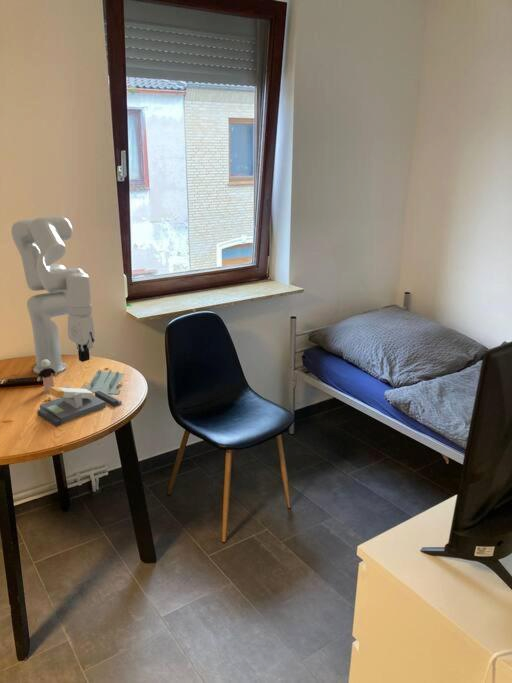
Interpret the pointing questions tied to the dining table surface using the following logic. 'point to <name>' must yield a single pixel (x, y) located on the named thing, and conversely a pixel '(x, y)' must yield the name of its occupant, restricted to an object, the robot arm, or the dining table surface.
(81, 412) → the panel
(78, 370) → the dining table surface
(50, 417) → the pair of grey rails
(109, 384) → the metal bracket
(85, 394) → the rocker lever
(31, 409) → the dining table surface
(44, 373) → the grandmother figurine
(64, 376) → the dining table surface
